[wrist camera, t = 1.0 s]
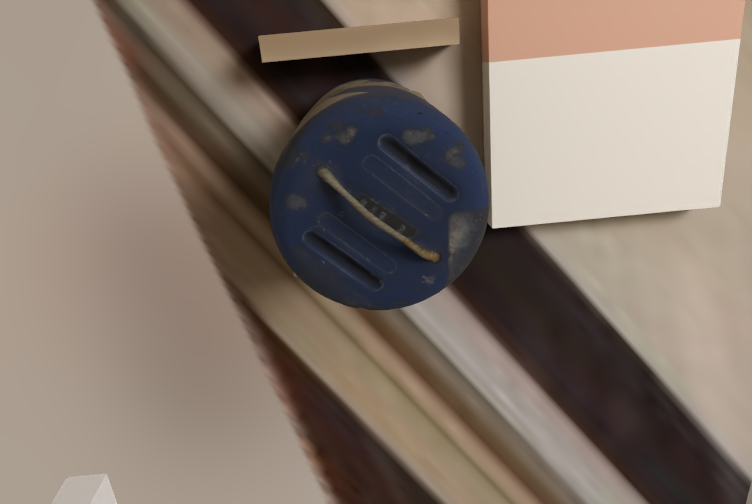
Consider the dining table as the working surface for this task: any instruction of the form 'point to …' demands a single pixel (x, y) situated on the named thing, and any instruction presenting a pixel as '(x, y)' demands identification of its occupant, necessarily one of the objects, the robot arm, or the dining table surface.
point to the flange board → (606, 106)
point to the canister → (378, 197)
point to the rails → (359, 40)
